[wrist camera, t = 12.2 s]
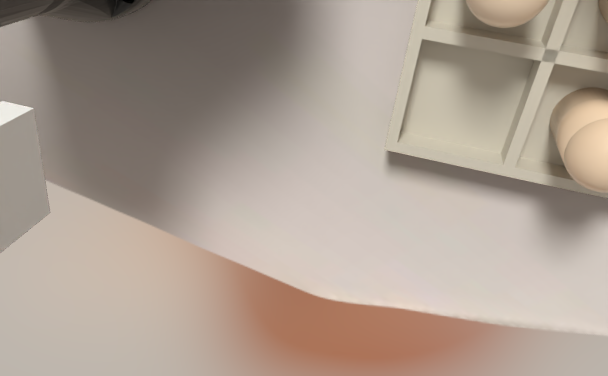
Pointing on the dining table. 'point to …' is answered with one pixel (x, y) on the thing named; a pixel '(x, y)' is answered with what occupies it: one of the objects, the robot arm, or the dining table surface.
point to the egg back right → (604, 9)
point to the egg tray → (496, 87)
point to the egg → (583, 136)
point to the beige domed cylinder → (506, 11)
